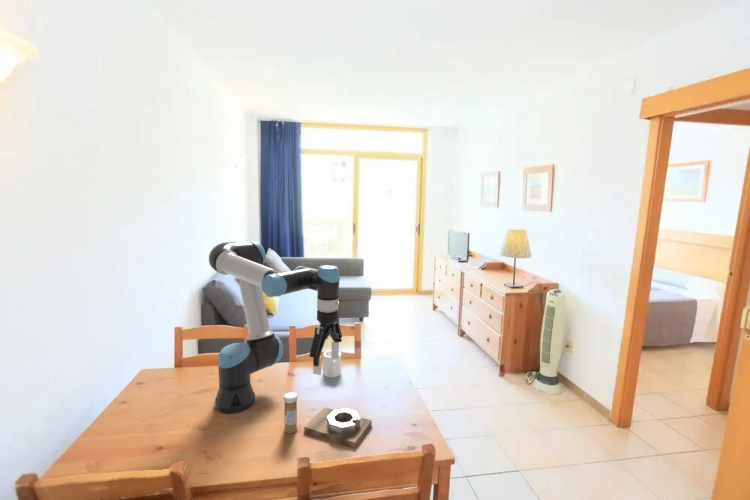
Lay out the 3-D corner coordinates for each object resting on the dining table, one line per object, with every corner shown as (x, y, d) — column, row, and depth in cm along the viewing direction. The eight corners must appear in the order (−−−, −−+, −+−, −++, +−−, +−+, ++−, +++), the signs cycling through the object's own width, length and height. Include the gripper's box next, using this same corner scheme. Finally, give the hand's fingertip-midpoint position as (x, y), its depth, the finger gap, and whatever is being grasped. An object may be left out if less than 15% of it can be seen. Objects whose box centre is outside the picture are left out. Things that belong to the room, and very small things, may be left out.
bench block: (304, 432, 136) (304, 426, 136) (324, 412, 149) (324, 407, 149) (354, 448, 129) (354, 442, 128) (371, 425, 141) (371, 420, 141)
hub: (322, 429, 135) (322, 419, 134) (337, 413, 145) (337, 404, 144) (350, 437, 131) (350, 427, 130) (363, 420, 141) (363, 411, 140)
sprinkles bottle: (285, 426, 139) (284, 391, 137) (297, 425, 140) (297, 391, 138) (283, 434, 135) (283, 398, 133) (296, 433, 135) (296, 398, 133)
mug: (321, 370, 184) (321, 351, 182) (339, 368, 186) (339, 349, 185) (325, 382, 172) (326, 361, 171) (344, 380, 175) (345, 359, 173)
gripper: (319, 321, 123) (318, 383, 126) (351, 301, 146) (350, 354, 149) (299, 318, 125) (298, 378, 129) (334, 299, 149) (332, 350, 152)
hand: (326, 365), depth 139 cm, fingers open, 13 cm apart
